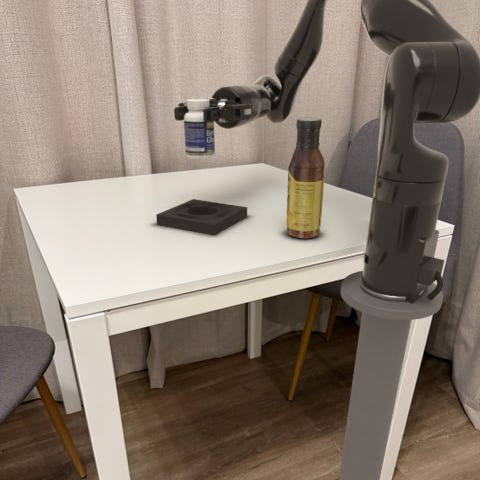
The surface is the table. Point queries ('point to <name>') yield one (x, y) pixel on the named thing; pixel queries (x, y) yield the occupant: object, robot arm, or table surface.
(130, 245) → the table surface
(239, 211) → the dock pad
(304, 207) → the sauce bottle
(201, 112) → the pill bottle
